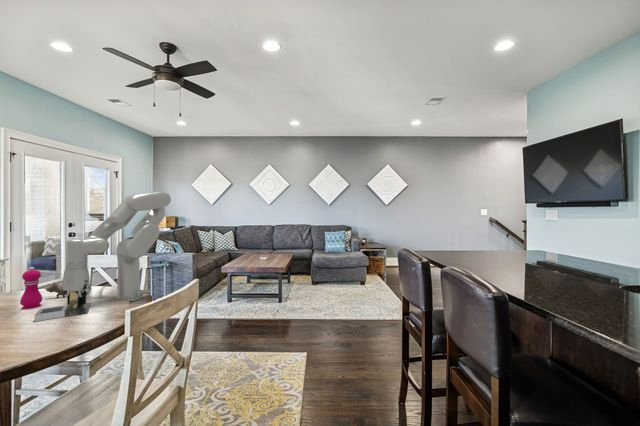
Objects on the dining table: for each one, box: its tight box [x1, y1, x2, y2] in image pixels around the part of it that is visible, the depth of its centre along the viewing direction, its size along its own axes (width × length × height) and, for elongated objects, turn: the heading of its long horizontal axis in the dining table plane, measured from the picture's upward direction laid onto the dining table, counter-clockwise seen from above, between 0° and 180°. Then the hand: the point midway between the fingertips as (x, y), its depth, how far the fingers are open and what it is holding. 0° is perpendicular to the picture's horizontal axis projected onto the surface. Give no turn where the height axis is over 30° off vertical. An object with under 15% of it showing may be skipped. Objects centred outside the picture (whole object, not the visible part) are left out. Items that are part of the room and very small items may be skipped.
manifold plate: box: [32, 302, 92, 323], centre depth 124 cm, size 17×18×4 cm
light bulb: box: [70, 289, 84, 309], centre depth 130 cm, size 5×5×8 cm
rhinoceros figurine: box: [43, 281, 67, 299], centre depth 148 cm, size 8×14×15 cm
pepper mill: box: [19, 266, 43, 310], centre depth 130 cm, size 7×7×20 cm
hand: (76, 304), depth 130 cm, fingers open, 5 cm apart
